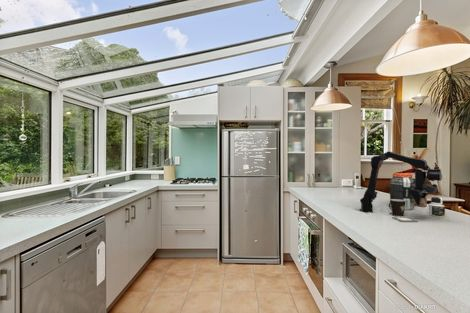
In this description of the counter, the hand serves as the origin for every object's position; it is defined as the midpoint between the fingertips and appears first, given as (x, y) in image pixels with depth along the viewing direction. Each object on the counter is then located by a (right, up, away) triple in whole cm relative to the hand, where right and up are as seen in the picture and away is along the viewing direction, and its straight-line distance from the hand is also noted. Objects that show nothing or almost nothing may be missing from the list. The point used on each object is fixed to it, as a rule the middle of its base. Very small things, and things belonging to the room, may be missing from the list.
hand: (420, 204), depth 165 cm
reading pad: (-10, -9, -1) cm, 14 cm away
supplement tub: (+11, -9, +35) cm, 38 cm away
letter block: (0, -1, 0) cm, 1 cm away
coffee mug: (-8, -10, +12) cm, 17 cm away
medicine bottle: (+19, -10, +12) cm, 24 cm away
